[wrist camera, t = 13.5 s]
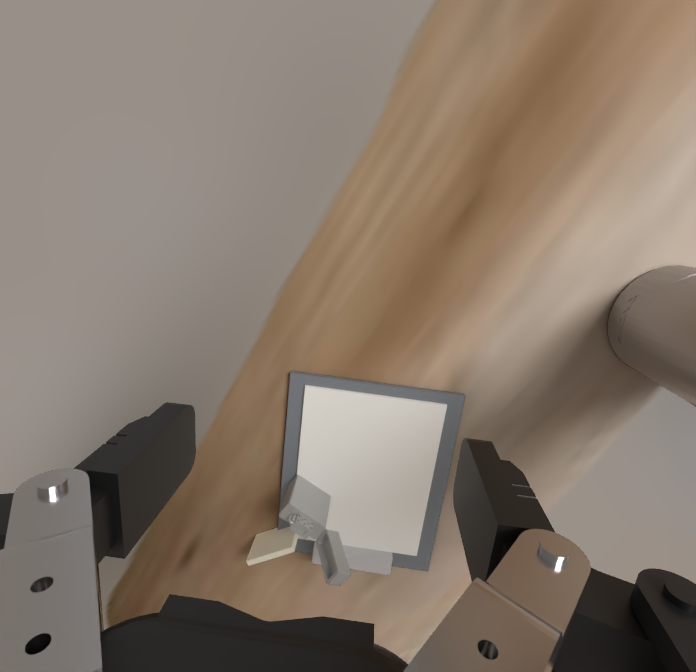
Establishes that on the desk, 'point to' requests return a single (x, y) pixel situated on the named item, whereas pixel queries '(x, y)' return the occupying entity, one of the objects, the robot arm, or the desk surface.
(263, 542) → the cream rectangular slab
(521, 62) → the desk surface
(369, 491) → the clipboard
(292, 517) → the lighter
